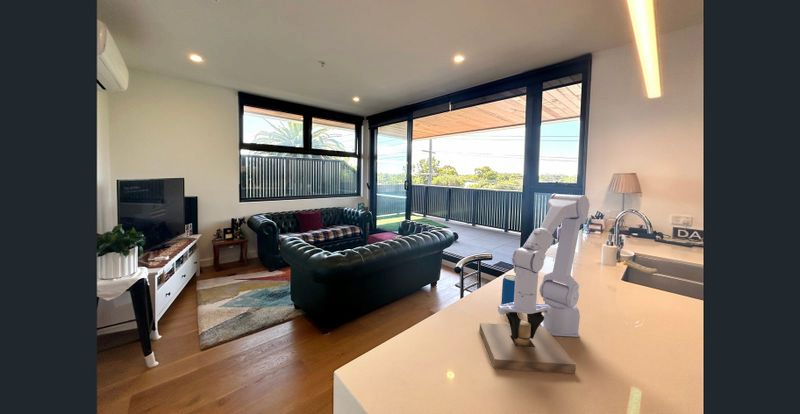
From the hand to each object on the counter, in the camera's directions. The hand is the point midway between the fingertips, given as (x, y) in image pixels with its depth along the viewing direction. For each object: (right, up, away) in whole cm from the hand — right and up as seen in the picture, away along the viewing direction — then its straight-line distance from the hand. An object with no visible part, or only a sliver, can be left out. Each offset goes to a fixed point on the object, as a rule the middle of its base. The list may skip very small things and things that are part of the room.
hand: (522, 336), depth 79 cm
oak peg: (0, -2, 0) cm, 2 cm away
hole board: (0, -4, 0) cm, 4 cm away
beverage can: (+7, -1, +26) cm, 27 cm away
